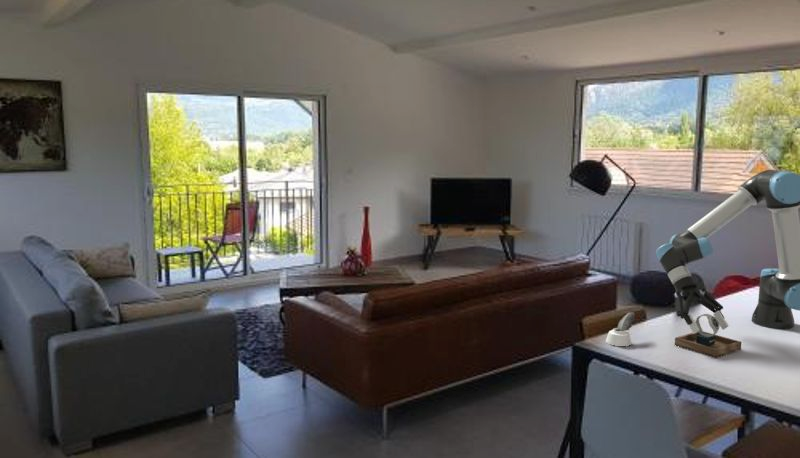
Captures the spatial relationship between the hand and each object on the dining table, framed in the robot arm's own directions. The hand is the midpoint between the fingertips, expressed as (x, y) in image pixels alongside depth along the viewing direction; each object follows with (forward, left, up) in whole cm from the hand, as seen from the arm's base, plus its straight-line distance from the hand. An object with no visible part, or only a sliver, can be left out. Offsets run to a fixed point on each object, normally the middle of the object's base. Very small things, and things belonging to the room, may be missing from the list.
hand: (711, 330), depth 227 cm
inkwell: (+18, -24, -7) cm, 31 cm away
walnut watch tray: (-1, -1, -7) cm, 7 cm away
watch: (-1, -2, -6) cm, 7 cm away
